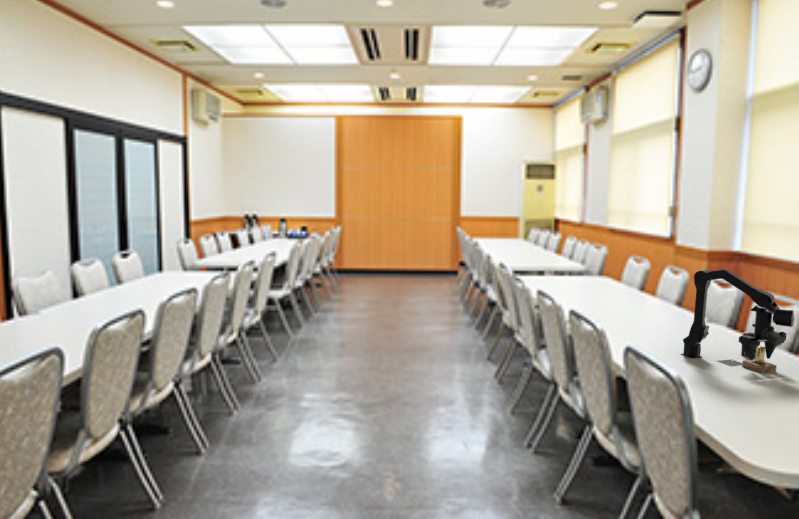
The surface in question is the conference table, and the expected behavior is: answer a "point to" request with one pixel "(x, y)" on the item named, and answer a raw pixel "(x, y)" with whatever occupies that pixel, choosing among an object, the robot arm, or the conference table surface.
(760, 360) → the pin
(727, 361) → the mat
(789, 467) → the conference table surface
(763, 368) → the pin block
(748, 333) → the battery charger
